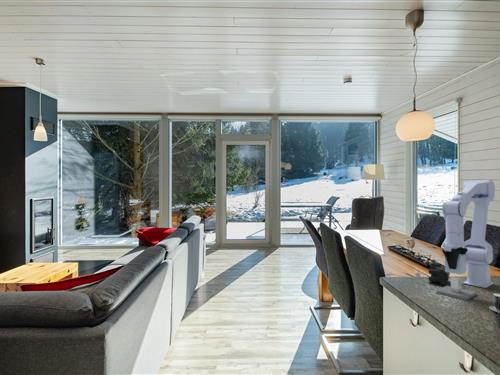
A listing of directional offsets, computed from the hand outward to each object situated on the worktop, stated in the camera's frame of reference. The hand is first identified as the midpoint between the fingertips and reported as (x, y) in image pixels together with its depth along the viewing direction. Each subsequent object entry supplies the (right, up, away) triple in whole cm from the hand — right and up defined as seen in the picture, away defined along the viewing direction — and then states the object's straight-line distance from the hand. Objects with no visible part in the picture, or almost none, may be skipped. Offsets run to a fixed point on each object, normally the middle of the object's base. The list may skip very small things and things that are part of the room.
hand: (455, 267), depth 117 cm
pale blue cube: (0, -2, 0) cm, 2 cm away
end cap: (+3, -11, +14) cm, 18 cm away
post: (0, -10, 0) cm, 10 cm away
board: (0, -10, 0) cm, 10 cm away
